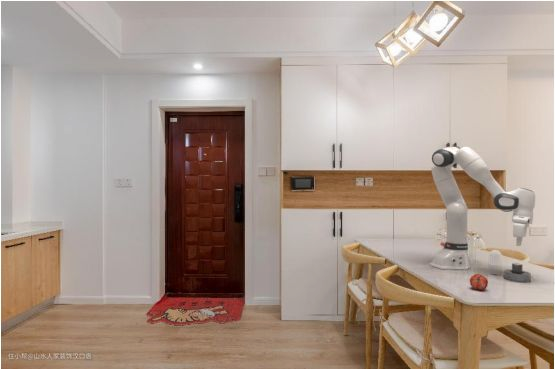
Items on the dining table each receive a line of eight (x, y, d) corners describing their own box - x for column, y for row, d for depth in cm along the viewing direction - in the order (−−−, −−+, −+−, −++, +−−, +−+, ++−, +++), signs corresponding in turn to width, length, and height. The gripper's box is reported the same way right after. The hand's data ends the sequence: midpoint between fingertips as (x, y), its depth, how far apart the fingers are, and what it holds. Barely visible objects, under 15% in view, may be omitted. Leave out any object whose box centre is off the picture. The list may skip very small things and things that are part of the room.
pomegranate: (469, 291, 174) (465, 281, 168) (474, 277, 177) (470, 268, 171) (486, 296, 169) (482, 286, 163) (491, 282, 172) (487, 272, 166)
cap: (516, 280, 185) (516, 265, 185) (509, 278, 190) (509, 263, 190) (524, 280, 186) (524, 264, 186) (517, 278, 190) (517, 262, 190)
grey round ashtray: (516, 282, 182) (516, 274, 182) (499, 277, 192) (499, 269, 192) (535, 282, 183) (535, 274, 183) (518, 276, 194) (518, 269, 194)
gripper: (517, 218, 199) (514, 243, 199) (512, 218, 183) (508, 245, 183) (531, 220, 195) (527, 246, 195) (527, 220, 179) (523, 248, 179)
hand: (518, 245), depth 189 cm, fingers closed
